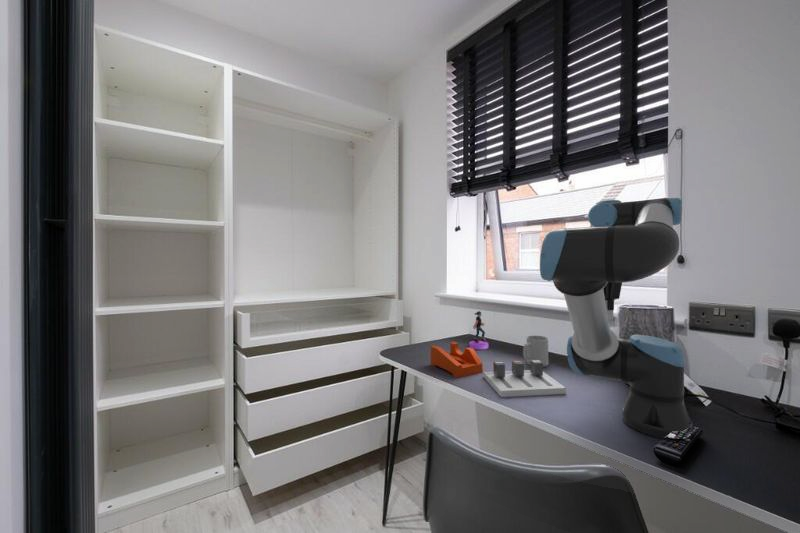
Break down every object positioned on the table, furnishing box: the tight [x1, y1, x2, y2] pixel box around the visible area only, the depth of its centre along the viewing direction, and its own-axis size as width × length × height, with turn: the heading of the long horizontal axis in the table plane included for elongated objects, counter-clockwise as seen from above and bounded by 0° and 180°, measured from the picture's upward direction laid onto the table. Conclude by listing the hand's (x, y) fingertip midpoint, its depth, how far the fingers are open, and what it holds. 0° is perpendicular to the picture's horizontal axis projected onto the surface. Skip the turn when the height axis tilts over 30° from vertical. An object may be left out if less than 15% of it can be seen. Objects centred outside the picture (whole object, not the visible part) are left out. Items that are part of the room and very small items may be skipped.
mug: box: [522, 335, 549, 368], centre depth 143 cm, size 12×8×11 cm
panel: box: [483, 369, 567, 398], centre depth 121 cm, size 18×22×2 cm
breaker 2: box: [511, 360, 525, 377], centre depth 125 cm, size 4×3×5 cm
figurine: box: [468, 310, 489, 350], centre depth 171 cm, size 9×9×18 cm
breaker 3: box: [529, 360, 544, 376], centre depth 125 cm, size 4×3×5 cm
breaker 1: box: [492, 361, 506, 378], centre depth 124 cm, size 4×3×5 cm
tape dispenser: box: [429, 341, 484, 379], centre depth 140 cm, size 18×13×8 cm
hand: (607, 319), depth 113 cm, fingers closed
